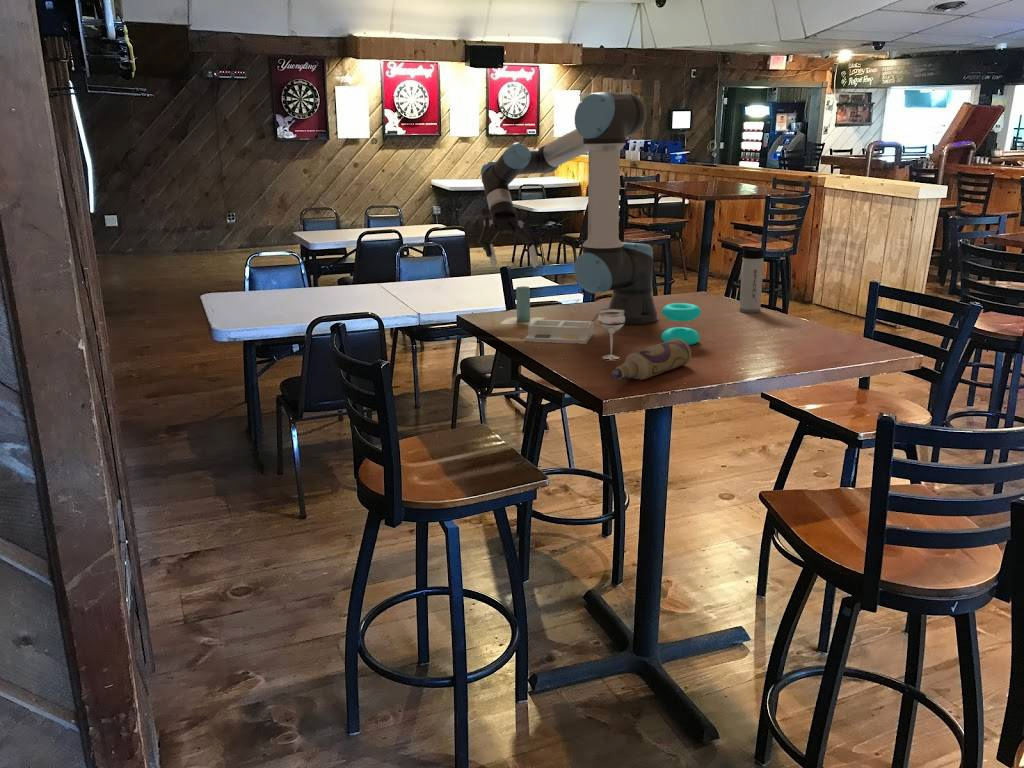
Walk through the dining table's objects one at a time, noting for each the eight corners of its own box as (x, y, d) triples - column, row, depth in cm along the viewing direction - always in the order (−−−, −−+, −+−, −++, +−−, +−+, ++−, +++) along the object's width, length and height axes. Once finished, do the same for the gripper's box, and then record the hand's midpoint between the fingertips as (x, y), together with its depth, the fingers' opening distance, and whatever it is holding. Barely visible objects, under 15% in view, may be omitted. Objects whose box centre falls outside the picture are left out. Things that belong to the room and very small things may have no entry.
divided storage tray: (593, 333, 234) (593, 321, 233) (586, 343, 223) (586, 331, 222) (534, 331, 238) (534, 319, 237) (525, 341, 227) (524, 329, 226)
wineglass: (605, 353, 214) (606, 307, 210) (629, 356, 210) (630, 310, 206) (592, 359, 208) (593, 312, 205) (616, 362, 205) (617, 315, 201)
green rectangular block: (531, 319, 249) (531, 286, 246) (528, 322, 246) (527, 289, 243) (518, 319, 250) (517, 286, 247) (515, 321, 247) (514, 288, 244)
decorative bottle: (666, 362, 205) (667, 335, 203) (692, 367, 200) (693, 340, 198) (598, 384, 188) (598, 356, 186) (624, 391, 183) (625, 362, 181)
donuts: (703, 309, 215) (664, 309, 215) (702, 346, 218) (663, 347, 218) (697, 301, 224) (660, 302, 225) (696, 337, 227) (659, 338, 228)
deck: (546, 321, 251) (546, 317, 251) (539, 328, 242) (539, 325, 242) (508, 319, 254) (508, 316, 254) (499, 327, 245) (499, 323, 245)
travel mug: (742, 308, 263) (746, 244, 257) (763, 310, 259) (767, 246, 253) (735, 311, 258) (738, 247, 252) (755, 314, 254) (760, 248, 248)
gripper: (533, 215, 266) (548, 272, 258) (459, 213, 256) (473, 272, 248) (541, 201, 259) (557, 258, 251) (466, 198, 250) (480, 258, 242)
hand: (515, 265), depth 250 cm, fingers open, 13 cm apart
